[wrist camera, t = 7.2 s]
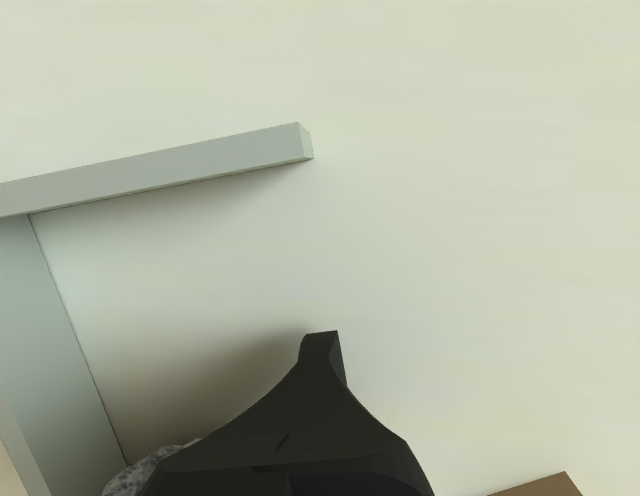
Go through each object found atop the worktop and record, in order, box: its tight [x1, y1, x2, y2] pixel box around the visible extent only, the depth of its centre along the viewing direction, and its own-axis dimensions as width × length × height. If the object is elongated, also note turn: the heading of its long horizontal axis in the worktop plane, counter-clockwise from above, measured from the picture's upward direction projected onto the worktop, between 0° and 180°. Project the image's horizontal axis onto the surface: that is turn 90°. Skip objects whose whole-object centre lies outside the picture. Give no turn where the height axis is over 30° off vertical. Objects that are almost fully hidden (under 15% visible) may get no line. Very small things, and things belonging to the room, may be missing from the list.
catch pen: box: [0, 122, 314, 496], centre depth 12 cm, size 15×11×3 cm
